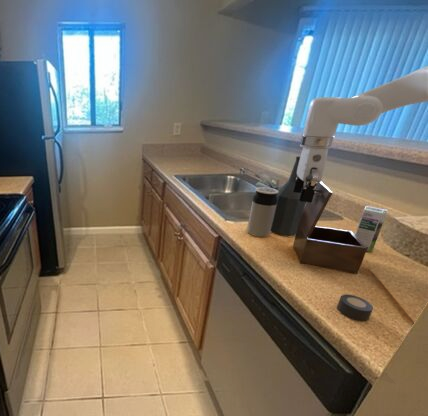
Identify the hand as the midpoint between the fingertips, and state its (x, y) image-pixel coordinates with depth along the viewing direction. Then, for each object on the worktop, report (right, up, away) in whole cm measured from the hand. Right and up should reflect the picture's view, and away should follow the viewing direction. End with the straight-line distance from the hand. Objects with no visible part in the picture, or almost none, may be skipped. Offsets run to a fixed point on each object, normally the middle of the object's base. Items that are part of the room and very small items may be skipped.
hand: (301, 196), depth 87 cm
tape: (-2, -29, -20) cm, 35 cm away
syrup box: (+29, -18, +11) cm, 36 cm away
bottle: (+9, -13, +23) cm, 28 cm away
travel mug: (-2, -14, +21) cm, 26 cm away
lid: (+4, -4, 0) cm, 6 cm away
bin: (+9, -20, +3) cm, 23 cm away
